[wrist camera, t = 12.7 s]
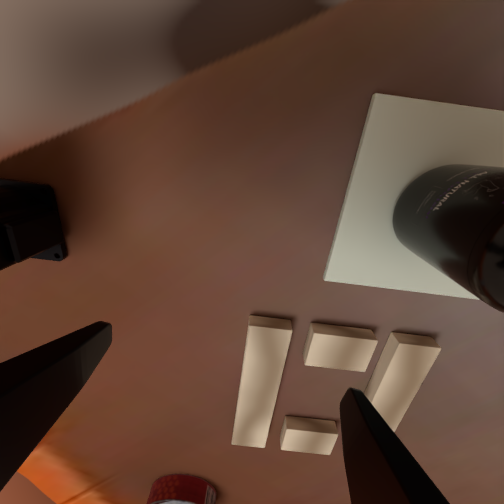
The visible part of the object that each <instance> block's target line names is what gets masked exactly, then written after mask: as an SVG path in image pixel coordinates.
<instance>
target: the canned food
mask: <svg viewBox="0 0 504 504" xmlns="http://www.w3.org/2000/svg"><path fill="white" fill-rule="evenodd" d="M215 501H216V491H215V489H214V487H213V486H212V485H211V484H210V483H208V482H207V481H205V480H203V479H201V478H198V477H195V476H191V475H185V474H172V475H166V476H163V477H161V478H159V479H157V480H156V481H155V482H154V483H153V485H152V488H151V492H150V495H149V498H148V501H147V504H215Z"/></svg>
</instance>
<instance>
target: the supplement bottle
mask: <svg viewBox="0 0 504 504" xmlns="http://www.w3.org/2000/svg"><path fill="white" fill-rule="evenodd" d="M392 222H393V229H394V232H395V235H396V237H397V239H398V240H399V241H400V242H401V244H402V245H404V246H405V247H406V248H407V249H409V250H410V251H411V252H413V253H414V254H416V255H417V256H418V257H420V258H421V259H423V260H424V261H426V262H427V263H428V264H430V265H431V266H433V267H434V268H436V269H437V270H439V271H440V272H441V273H443V274H444V275H446V276H447V277H449V278H450V279H451V280H453V281H454V282H456V283H457V284H459V285H460V286H461V287H463V288H464V289H466V290H467V291H469V292H470V293H472V294H473V295H474V296H476V297H477V298H479V299H480V300H482V301H483V302H485V303H486V304H488V305H489V306H491V307H493V308H495V309H497V310H498V311H501V312H504V167H493V166H480V165H465V164H450V165H444V166H440V167H437V168H434V169H431V170H429V171H427V172H425V173H423V174H422V175H420V176H419V177H417V178H416V179H415V180H414V181H412V182H411V183H410V184H409V185H408V186H407V187H406V189H405V190H404V191H403V192H402V194H401V195H400V197H399V199H398V201H397V203H396V205H395V208H394V212H393V219H392Z"/></svg>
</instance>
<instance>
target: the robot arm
mask: <svg viewBox="0 0 504 504" xmlns="http://www.w3.org/2000/svg"><path fill="white" fill-rule="evenodd" d="M44 189H45V190H46V191H47V193H46V192H45V191H44ZM58 254H59V255H60V256H59V255H58ZM28 258H37V259H45V260H53V261H61V260H63V259H65V258H66V250H65V245H64V240H63V235H62V230H61V225H60V219H59V214H58V209H57V204H56V199H55V194H54V190H53V188H52V187H51V186H50V185H47V184H41V183H33V182H25V181H17V180H10V179H2V178H0V270H3V269H5V268H7V267H9V266H11V265H13V264H16V263H19V262H22V261H24V260H26V259H28ZM111 342H112V325H111V324H110V323H107V322H103V321H98V322H96V323H93V324H91V325H89V326H86V327H84V328H82V329H79V330H77V331H75V332H72V333H70V334H68V335H65V336H63V337H61V338H58V339H56V340H54V341H51V342H49V343H47V344H44V345H42V346H40V347H37V348H35V349H33V350H30V351H28V352H26V353H23V354H21V355H18V356H16V357H14V358H11V359H9V360H7V361H4V362H2V363H0V491H1V490H2V489H3V488H4V486H5V485H6V484H7V482H8V481H9V480H10V479H11V477H12V476H13V475H14V474H15V472H16V471H17V470H18V469H19V467H20V466H21V465H22V464H23V462H24V461H25V460H26V459H27V457H28V456H29V455H30V453H31V452H32V451H33V450H34V448H35V447H36V446H37V445H38V443H39V442H40V441H41V440H42V438H43V437H44V436H45V435H46V433H47V432H48V431H49V429H50V428H51V427H52V426H53V424H54V423H55V422H56V421H57V419H58V418H59V417H60V416H61V414H62V413H63V412H64V411H65V409H66V408H67V407H68V405H69V404H70V403H71V402H72V400H73V399H74V398H75V397H76V395H77V394H78V393H79V391H80V390H81V389H82V388H83V386H84V385H85V383H86V382H87V380H88V379H89V377H90V376H91V374H92V373H93V371H94V370H95V368H96V367H97V365H98V364H99V362H100V360H101V359H102V357H103V356H104V354H105V353H106V351H107V350H108V348H109V347H110V345H111ZM340 419H341V432H342V445H343V456H344V463H345V469H346V475H347V481H348V487H349V492H350V498H351V504H450V503H449V502H448V501H447V499H446V498H445V497H444V496H443V494H442V493H441V492H440V490H439V489H438V488H437V487H436V485H435V484H434V483H433V481H432V480H431V479H430V478H429V476H428V475H427V474H426V473H425V471H424V470H423V469H422V467H421V466H420V465H419V464H418V462H417V461H416V460H415V458H414V457H413V456H412V455H411V453H410V452H409V451H408V449H407V448H406V447H405V446H404V444H403V443H402V442H401V441H400V439H399V438H398V437H397V435H396V434H395V433H394V432H393V430H392V429H391V428H390V426H389V425H388V424H387V423H386V421H385V420H384V419H383V417H382V416H381V415H380V414H379V412H378V411H377V410H376V409H375V407H374V406H373V405H372V403H371V402H370V401H369V400H368V398H367V397H366V396H365V394H364V393H363V392H362V391H361V390H359V389H355V388H348V390H347V391H346V393H345V395H344V396H343V398H342V400H341V402H340Z"/></svg>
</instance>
